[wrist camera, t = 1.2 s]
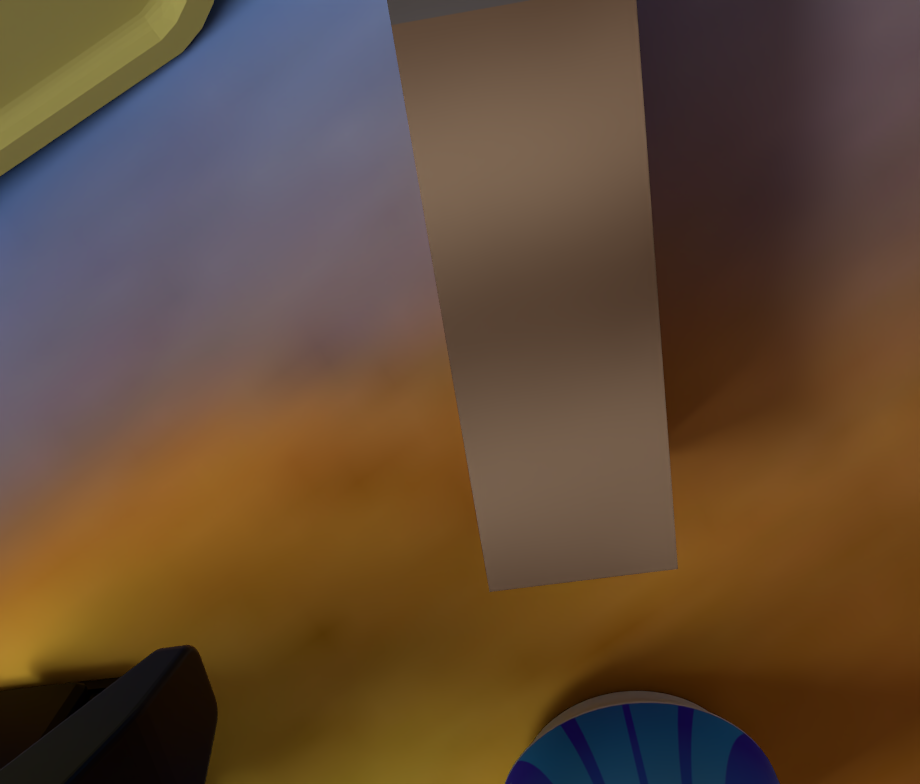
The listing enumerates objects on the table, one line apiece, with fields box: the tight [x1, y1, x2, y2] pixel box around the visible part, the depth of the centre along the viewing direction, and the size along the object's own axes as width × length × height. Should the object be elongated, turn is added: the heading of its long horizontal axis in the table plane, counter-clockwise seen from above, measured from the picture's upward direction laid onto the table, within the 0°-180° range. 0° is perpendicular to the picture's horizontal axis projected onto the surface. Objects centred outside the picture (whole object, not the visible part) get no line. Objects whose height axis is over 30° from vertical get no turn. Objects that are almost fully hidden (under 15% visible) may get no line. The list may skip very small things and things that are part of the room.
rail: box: [387, 0, 678, 592], centre depth 17 cm, size 12×4×5 cm, turn 9°
